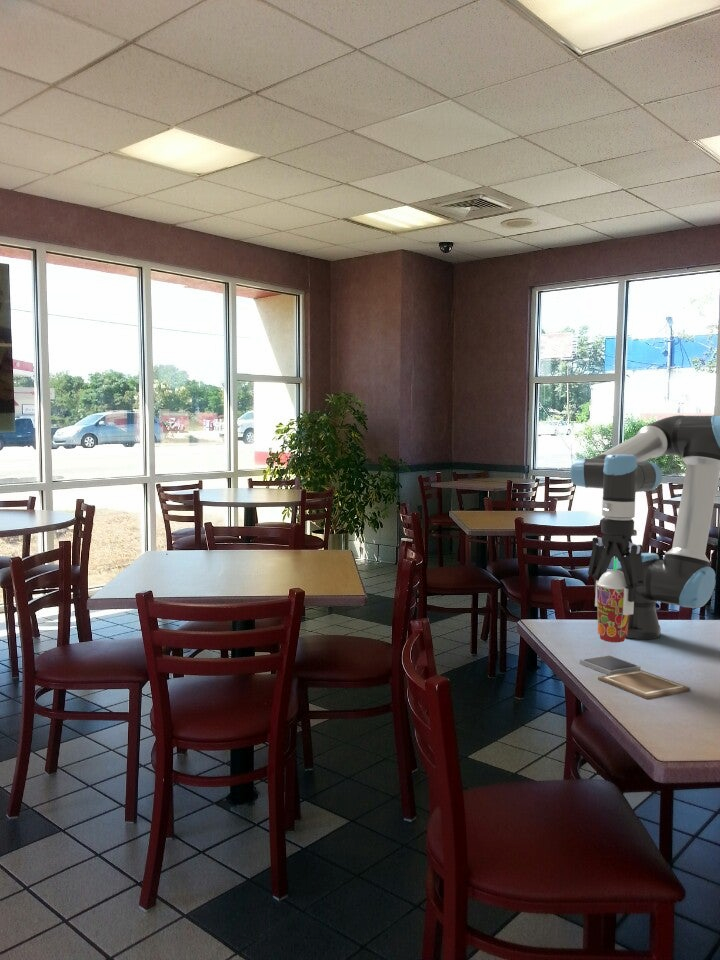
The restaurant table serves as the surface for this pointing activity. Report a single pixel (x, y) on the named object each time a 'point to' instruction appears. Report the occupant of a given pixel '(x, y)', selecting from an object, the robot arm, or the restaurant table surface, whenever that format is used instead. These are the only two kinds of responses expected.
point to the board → (644, 684)
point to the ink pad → (609, 665)
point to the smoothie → (611, 606)
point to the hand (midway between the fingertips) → (613, 610)
